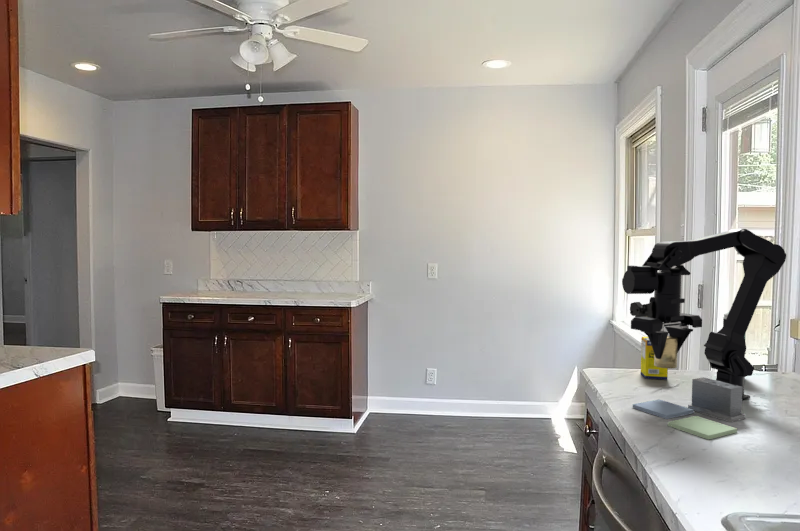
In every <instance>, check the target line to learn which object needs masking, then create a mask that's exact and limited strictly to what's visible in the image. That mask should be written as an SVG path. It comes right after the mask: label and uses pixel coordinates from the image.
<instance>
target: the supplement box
mask: <svg viewBox="0 0 800 531" xmlns="http://www.w3.org/2000/svg"><path fill="white" fill-rule="evenodd" d="M640 342H641V345H640V349H641V350H640V374H641V376H643V378H644V379H647V380H648V379H649V380H666V381H667V380H668V376H669V375H668V370H669V368H660V367H656V366H654V351H653V348H652V345H651V342H650V340H649V338H648V336H641V341H640Z"/></svg>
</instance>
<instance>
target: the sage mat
mask: <svg viewBox="0 0 800 531" xmlns="http://www.w3.org/2000/svg"><path fill="white" fill-rule="evenodd" d="M667 426H668V427H670V428H674V429H676V430H679V431H683V432H685V433H688V434H691V435H694V436H697V437H699V438H703V439H705V440H712V439H716V438H720V437H723V436H728V435H732V434H735V433H736V434H737V433H738V428H736V427H733V426H730V425H727V424H723V423H720V422H718V421H714V420H711V419H707V418H705V417H702V416H698V415H694V416H689V417H684V418H680V419H676V420H670V421H668V422H667Z"/></svg>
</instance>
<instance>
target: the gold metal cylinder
mask: <svg viewBox="0 0 800 531" xmlns="http://www.w3.org/2000/svg"><path fill="white" fill-rule="evenodd" d="M677 346H678V338H676V337H672V336H669V335H668V336H667V339H666V343H665V347H664V350H663V354H662V356H661V359H657V358H656V357H655V354H654V366H656V367H660V368H668V369H677V367H678V353H677Z"/></svg>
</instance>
